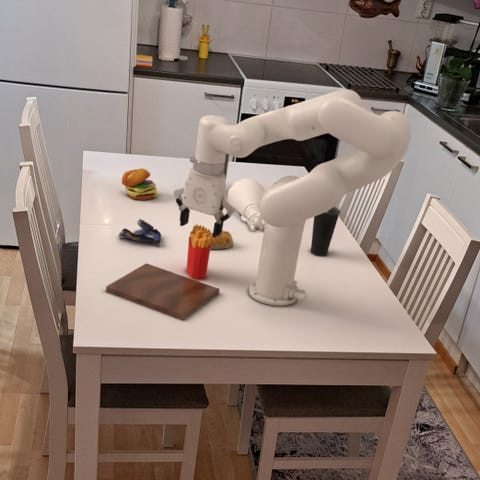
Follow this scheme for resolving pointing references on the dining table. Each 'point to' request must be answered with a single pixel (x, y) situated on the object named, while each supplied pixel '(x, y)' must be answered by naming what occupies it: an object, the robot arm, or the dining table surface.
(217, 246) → the pastry
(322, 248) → the drinking cup
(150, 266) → the cutting board
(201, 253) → the french fries
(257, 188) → the rocket engine
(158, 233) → the snack package
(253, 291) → the robot arm
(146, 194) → the cheeseburger
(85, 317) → the dining table surface
